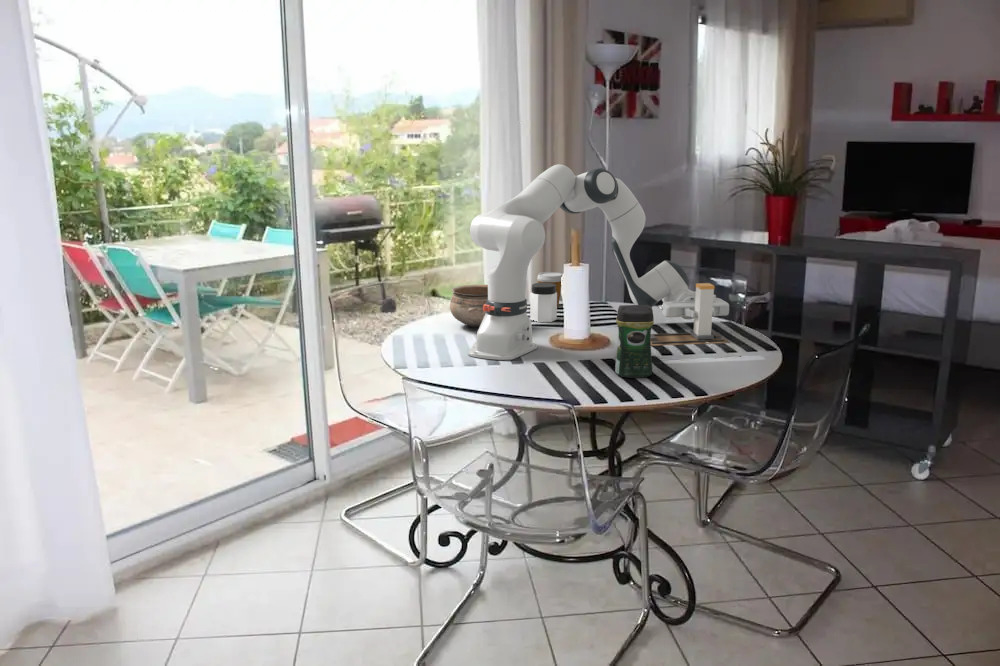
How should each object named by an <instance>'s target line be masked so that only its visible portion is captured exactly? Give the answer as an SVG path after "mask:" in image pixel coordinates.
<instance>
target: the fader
mask: <svg viewBox="0 0 1000 666" xmlns="http://www.w3.org/2000/svg"><path fill="white" fill-rule="evenodd" d="M695 292H696V296H695V311H697V312H698V317H695V318H694V319H693V330H692V331H690V332H689V333H690V335H692V336H693V337H695V338H696V339H714V335H712V334H711V332H712V326H713V322H712V321H713V317H712V311H713V296H714V295H715V293H714V292H715V284H712V283H710V282H704V283H703V282H702V283H701V282H700V283H695Z"/></svg>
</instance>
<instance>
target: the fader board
mask: <svg viewBox="0 0 1000 666" xmlns="http://www.w3.org/2000/svg"><path fill="white" fill-rule="evenodd" d="M690 333H691V332H678V333H677V332H676V333H673V332H672V333H651V347H654V346H658V347H659V346H678V345H679V346H680V345H681V346H682V345H685V346H686V345H704V344H705V345H706V344H712V345H713V344H731V343H732V342H731V341H729V340H728V339H726V338H724V337H723V335H722V334H720V333H719V332H715V331H711V334H712V335H714V339H696V338H695V337H693V336H692V335H690Z"/></svg>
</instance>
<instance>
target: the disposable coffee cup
mask: <svg viewBox="0 0 1000 666" xmlns="http://www.w3.org/2000/svg"><path fill="white" fill-rule="evenodd" d="M562 276H563V273H561V272H553V271H544V272H539V273H538V275H537V277H536V279H537V281H538V282H537V283H552V284H555V285H556V292H557V307H558V308H559V305H560V298H561V290H562V285H561V277H562Z"/></svg>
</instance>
